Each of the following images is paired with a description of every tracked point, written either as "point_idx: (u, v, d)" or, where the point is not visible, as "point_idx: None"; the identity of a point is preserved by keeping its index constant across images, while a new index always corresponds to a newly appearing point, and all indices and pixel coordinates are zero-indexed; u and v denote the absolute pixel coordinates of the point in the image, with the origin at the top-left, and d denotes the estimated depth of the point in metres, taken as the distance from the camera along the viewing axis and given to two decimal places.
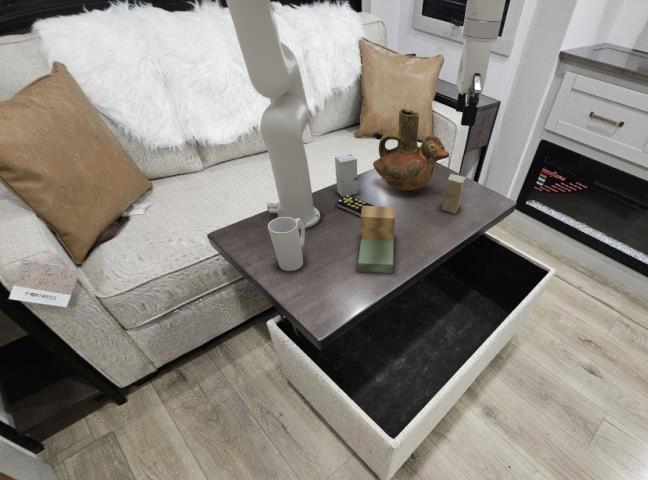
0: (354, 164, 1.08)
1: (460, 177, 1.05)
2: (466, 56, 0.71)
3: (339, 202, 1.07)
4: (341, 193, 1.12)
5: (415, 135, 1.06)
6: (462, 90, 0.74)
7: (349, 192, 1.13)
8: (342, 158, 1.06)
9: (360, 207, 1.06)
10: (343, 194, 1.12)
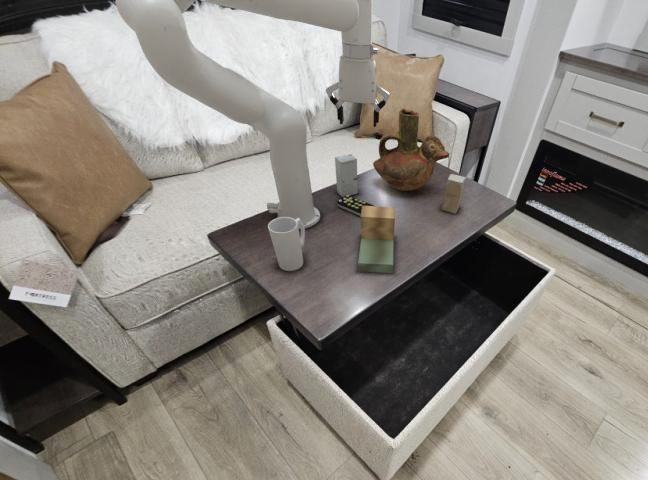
0: (354, 164, 1.08)
1: (460, 177, 1.05)
2: None
3: (339, 202, 1.07)
4: (341, 193, 1.12)
5: (415, 135, 1.06)
6: None
7: (349, 192, 1.13)
8: (342, 158, 1.06)
9: (360, 207, 1.06)
10: (343, 194, 1.12)
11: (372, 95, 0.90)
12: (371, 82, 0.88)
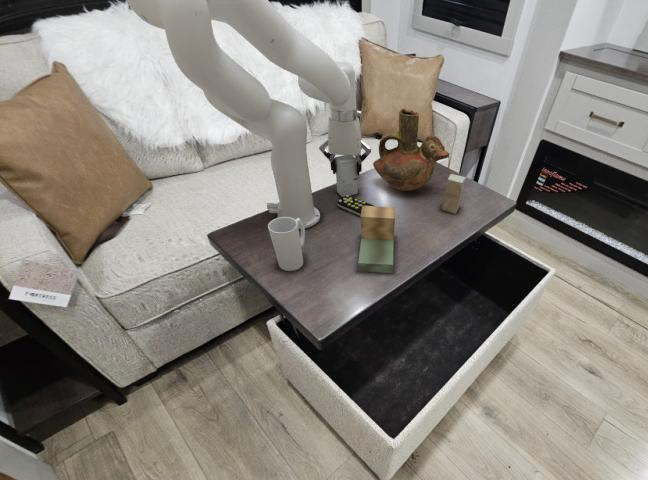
0: (354, 164, 1.08)
1: (460, 177, 1.05)
2: None
3: (339, 202, 1.07)
4: (341, 193, 1.12)
5: (415, 135, 1.06)
6: None
7: (349, 192, 1.13)
8: (342, 158, 1.06)
9: (360, 207, 1.06)
10: (343, 194, 1.12)
11: (358, 149, 1.03)
12: (356, 139, 1.00)
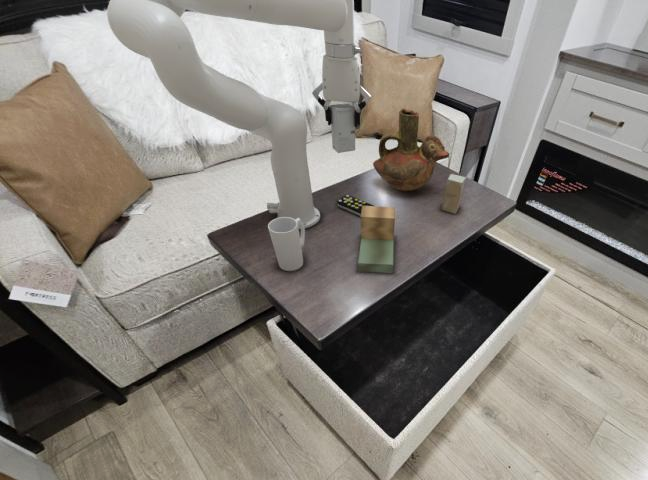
0: (352, 113, 0.96)
1: (460, 177, 1.05)
2: None
3: (339, 202, 1.07)
4: (337, 148, 1.01)
5: (415, 135, 1.06)
6: None
7: (346, 148, 1.02)
8: (338, 106, 0.95)
9: (360, 207, 1.06)
10: (339, 150, 1.01)
11: (356, 94, 0.92)
12: (354, 81, 0.89)
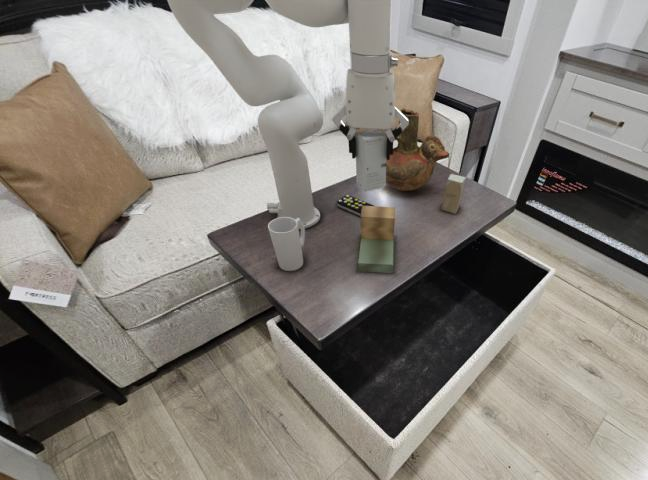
0: (383, 142, 0.74)
1: (460, 177, 1.05)
2: None
3: (339, 202, 1.07)
4: (363, 186, 0.79)
5: (415, 135, 1.06)
6: None
7: (374, 185, 0.79)
8: (366, 134, 0.72)
9: (360, 207, 1.06)
10: (366, 188, 0.79)
11: (390, 119, 0.69)
12: (389, 103, 0.67)
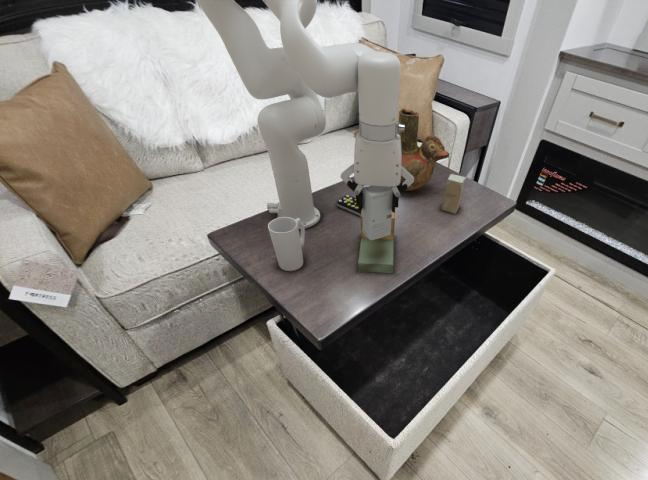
0: (389, 197, 0.77)
1: (460, 177, 1.05)
2: None
3: (339, 202, 1.07)
4: (369, 235, 0.81)
5: (415, 135, 1.06)
6: None
7: (380, 234, 0.82)
8: (372, 190, 0.75)
9: None
10: (372, 237, 0.81)
11: (396, 178, 0.72)
12: (395, 164, 0.69)
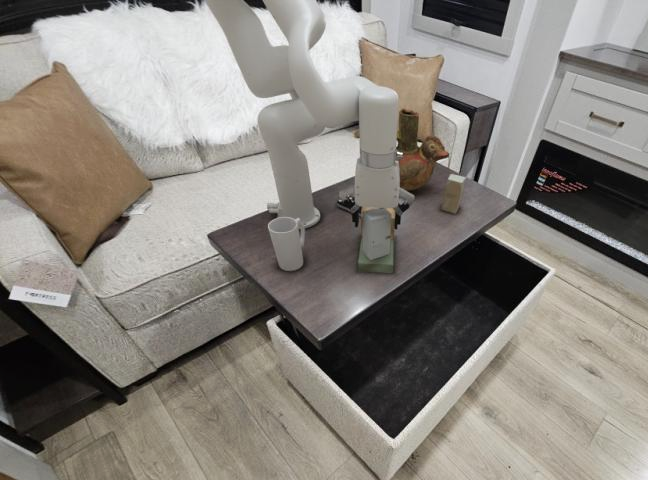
0: (388, 220, 0.81)
1: (460, 177, 1.05)
2: None
3: (339, 202, 1.07)
4: (369, 255, 0.86)
5: (415, 135, 1.06)
6: None
7: (379, 254, 0.87)
8: (372, 214, 0.79)
9: (360, 207, 1.06)
10: (372, 257, 0.86)
11: (395, 200, 0.76)
12: (394, 188, 0.73)
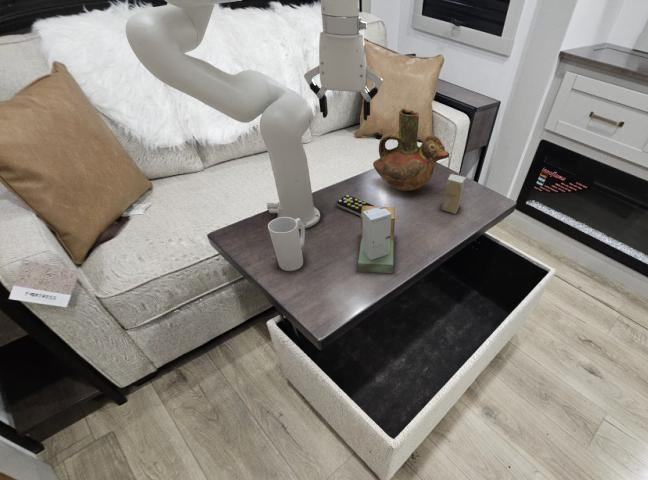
0: (388, 220, 0.81)
1: (460, 177, 1.05)
2: None
3: (339, 202, 1.07)
4: (369, 255, 0.86)
5: (415, 135, 1.06)
6: None
7: (379, 254, 0.87)
8: (372, 214, 0.79)
9: (360, 207, 1.06)
10: (372, 257, 0.86)
11: (361, 81, 0.74)
12: (359, 65, 0.71)
